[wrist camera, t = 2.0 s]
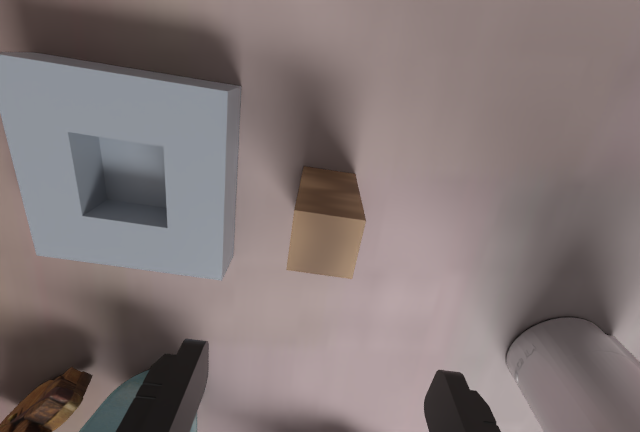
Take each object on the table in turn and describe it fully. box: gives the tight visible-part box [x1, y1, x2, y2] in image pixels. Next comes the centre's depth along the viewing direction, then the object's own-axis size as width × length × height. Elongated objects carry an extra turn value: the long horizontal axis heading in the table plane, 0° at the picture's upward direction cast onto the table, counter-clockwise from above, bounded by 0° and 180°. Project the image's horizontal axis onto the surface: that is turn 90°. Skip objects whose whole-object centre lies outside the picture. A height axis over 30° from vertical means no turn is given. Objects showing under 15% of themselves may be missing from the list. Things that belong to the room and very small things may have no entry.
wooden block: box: [287, 166, 366, 279], centre depth 23 cm, size 4×4×8 cm
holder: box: [0, 52, 241, 280], centre depth 24 cm, size 14×14×4 cm
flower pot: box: [79, 370, 197, 432], centre depth 33 cm, size 9×9×9 cm
